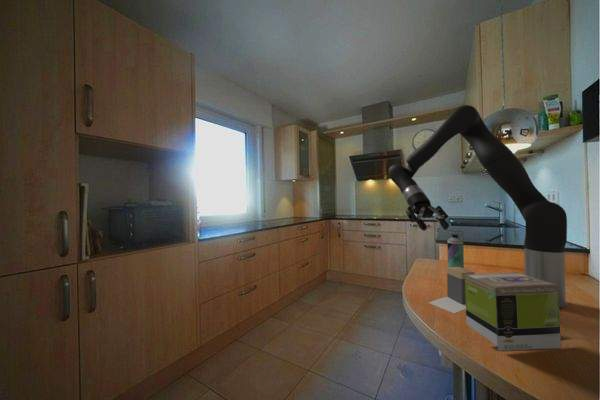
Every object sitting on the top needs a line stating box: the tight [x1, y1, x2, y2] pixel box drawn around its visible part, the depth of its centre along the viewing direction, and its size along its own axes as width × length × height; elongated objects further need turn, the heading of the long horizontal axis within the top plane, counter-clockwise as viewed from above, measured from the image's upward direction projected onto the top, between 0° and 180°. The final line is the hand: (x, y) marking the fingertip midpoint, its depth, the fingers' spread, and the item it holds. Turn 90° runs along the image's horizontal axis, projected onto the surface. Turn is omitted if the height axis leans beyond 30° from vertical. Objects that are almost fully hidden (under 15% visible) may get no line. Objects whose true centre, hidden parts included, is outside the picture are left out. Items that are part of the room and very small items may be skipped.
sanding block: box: [446, 266, 475, 305], centre depth 76 cm, size 4×6×10 cm
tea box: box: [465, 272, 562, 352], centre depth 57 cm, size 15×10×15 cm, turn 92°
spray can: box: [446, 233, 465, 269], centre depth 95 cm, size 6×6×20 cm
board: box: [427, 295, 466, 314], centre depth 74 cm, size 14×8×1 cm, turn 117°
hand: (436, 228), depth 85 cm, fingers open, 8 cm apart
